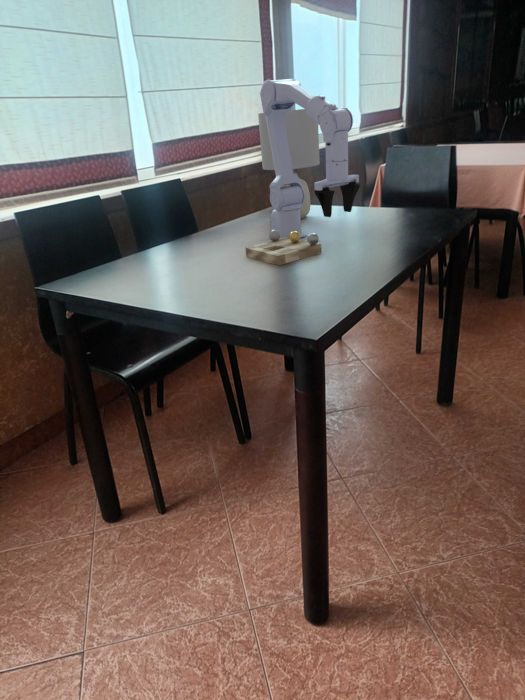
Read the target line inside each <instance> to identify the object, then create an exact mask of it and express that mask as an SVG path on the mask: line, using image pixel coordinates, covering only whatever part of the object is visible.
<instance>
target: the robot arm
mask: <svg viewBox="0 0 525 700" xmlns="http://www.w3.org/2000/svg"><path fill="white" fill-rule="evenodd" d="M259 95H260V100H261V107H262V113H264V115H265V116H266V122H267V128H268V133H269V139H270V145H271V151H272V156H273V162H274V168H275V170H274V173H275V178H274V179H273V180H272V181H271V183H269V191H270V192H269V202H270V204H271V206H272V208H273V210H272V211H271V215H270V223H271V224H270V225H271V231H272V230H278V231H279V232H280V238H284V237H289V234H290V233H291V232H292V231H297V232H299V233H300V239H301V238H304V237H308V234H306V233H302V224H301V223H302V221H301V219H300V207H302V204H303V203H304V200H305V191H304V189H303V187H302V183H301V179H302V178H300V177H299V176H298V177H299V178H298V177H297V176H296V175H294V174H293V169H292V163H291V157H290V151H289V145H288V139H287V132H286V126H285V120H284V118H285V115H286V114H287V113H288V112H290V110H293V108H294V106H295V105H298V106H299V107H301V108H302V109H306V114H307V116H308V117H309V118H311V119H312V120H313V121H315V122H316V123H317V124H318V126H319V127H320V131H321V134H322V136H323V137H322V138H323V142H324V143H325V175H326V176H325V179H322V180H319V181H315V182H314V183H313V184H314V194H315V196H316V197H317V200H318V202H319V204H320V207H321V210H322V214H323V217H326V218H332V214H333V213H332V210H333V201H334V200H333V199H334V195H335V190H332V189H331V188H335V187H339V188H340V190H341V195H342V204H343V205H342V208H343V212H345V213H351V212H352V209H353V205H354V201H355V198H356V196H357V194H358V192H359V189H360V186H361V185H360V183H359V182H360V175H359V174H350V175H349V133H350V131H351V130H352V128H353V123H354V118H353V117H354V116H353V115H352V112H351V111H350V110H349V109H348V107H342V108H339V107H337V105H336V104H335V103H331V102H330V101H328V100H327V99H326V96H325V95H323V94H318V95H315V96H314V95H312V94H311V93H310V92H309V91H307V90H306V89H305V88H304V87H303V86H302V85H301V81H299V80H297V79H296V78H292V77H291V78H287V79H273V80H272V79H266V80H264V81H263V84H262V86H261V88H260V92H259ZM283 185H290V186H286V187H281V186H283ZM280 238H279V239H280Z"/></svg>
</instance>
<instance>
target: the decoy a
mask: <svg viewBox="0 0 525 700" xmlns="http://www.w3.org/2000/svg"><path fill="white" fill-rule="evenodd" d="M268 236H269V239H270V241H277V240H279V238H280V232H279V231H278V230H272V229H271V230H270V232H269V234H268Z"/></svg>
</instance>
